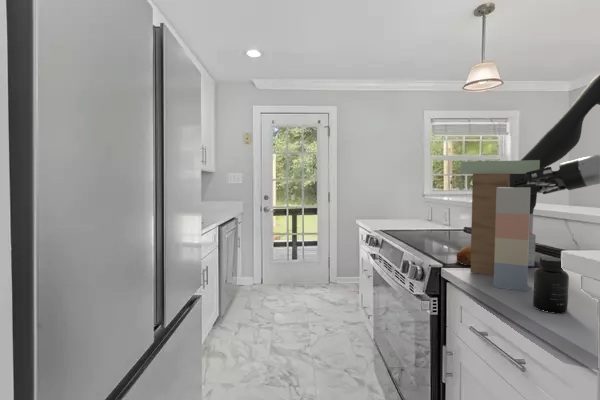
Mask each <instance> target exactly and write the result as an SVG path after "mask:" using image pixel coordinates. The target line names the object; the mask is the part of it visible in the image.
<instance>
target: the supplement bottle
mask: <svg viewBox="0 0 600 400" xmlns="http://www.w3.org/2000/svg"><path fill="white" fill-rule="evenodd" d="M561 259H562V258H559V257H553V256H540V257H539V268H536V269H535V270H534V273H533V274H534V275H533V295H532V305H533V307H534V308H535V307H536V308H538V309H540V310H539V311H541V310H544V311H548V312H554V313H553V314H557V313H559V314H564V312H565V313H566V312H568V306H569V305H568V304H569V285H570V276H569V274H568V272H567V271H565V270H564V269H562V268H561ZM536 308H535V309H536ZM538 309H537V310H538ZM544 311H543V312H544ZM548 312H547V313H548Z"/></svg>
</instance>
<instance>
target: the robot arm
mask: <svg viewBox="0 0 600 400" xmlns="http://www.w3.org/2000/svg"><path fill="white" fill-rule="evenodd" d="M596 105H600V73H599V74H598V75H596V76H594V78H592V79H591V81H590V82H589V83H588V84H587V86H586V87H584V89H583V91H582V92H581V93H580V94H579V96H578V97H577V98H576V100H575V101H574V102H573V103H572V104H571V105H570V107H569V108H568V110H567V111H566V112H565V113H564V114H563V115H562V116H561V117H560V118H559V119H558V121H557V122H556V123H554V125H552V126H551V127H550V128H549V130H548V131H546V133H545V134H544V135H543V136H542V137H541V138H540V139H539V141H537V143H536V144H535V145H534V146H533V147H532V148H531V149H530V150H529V151H528V152H527V153H526V154H525V155H524V156H523V157H522V158H521V159H520V160H519V161H522V160H540V168H539V169H538V170H534V171H530V172H526V174H510V187H514V188H515V187H531V190H530V219H529V233H531V234H533V232H534V231H533V230H534V229H533V228H534V209H535V208H536V205H537V196H538V194H543V195H547V194H551V193H556V192H559V191H564V190H565V191H566V190H568V191H572V190H576V189H581V188H586V187H590V186H594V185H595V186H596V185H600V153H599V154H592V155H588V156H584V157H580V158H576V159H573V160H568V161H565V162H561V163H559V169H558V170H557V169H556V170H553V169H552V167H551V165H553V164H555V163H556V162H558V161H560V160H561V159H563V158H564V157H565V156H566V155H568V153H570V152H571V151H572V150H573V149H574V148H575V146H577V145H578V143H579V141H580V139H581V136H582V130H583V122H584V120H585V118H586V116H587V114H588V113H589V112H590V111H591V110H592V109H593V108H594V107H596Z"/></svg>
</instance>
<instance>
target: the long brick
mask: <svg viewBox="0 0 600 400" xmlns="http://www.w3.org/2000/svg"><path fill="white" fill-rule="evenodd" d="M539 168H540V160H522V161H520V160H489V161H488V160H485V161H484V160H482V161H481V160H480V161H479V160H478V161H460V175H473V174H526V172H530V171H534V170H538V169H539Z"/></svg>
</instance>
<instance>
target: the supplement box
mask: <svg viewBox="0 0 600 400" xmlns="http://www.w3.org/2000/svg"><path fill="white" fill-rule="evenodd" d="M536 238H537V237H536V234H531V233H529V249H528V269H529V268H530V269H531V268H533V269H534V268H535V259H536V257H535V255H536Z"/></svg>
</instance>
